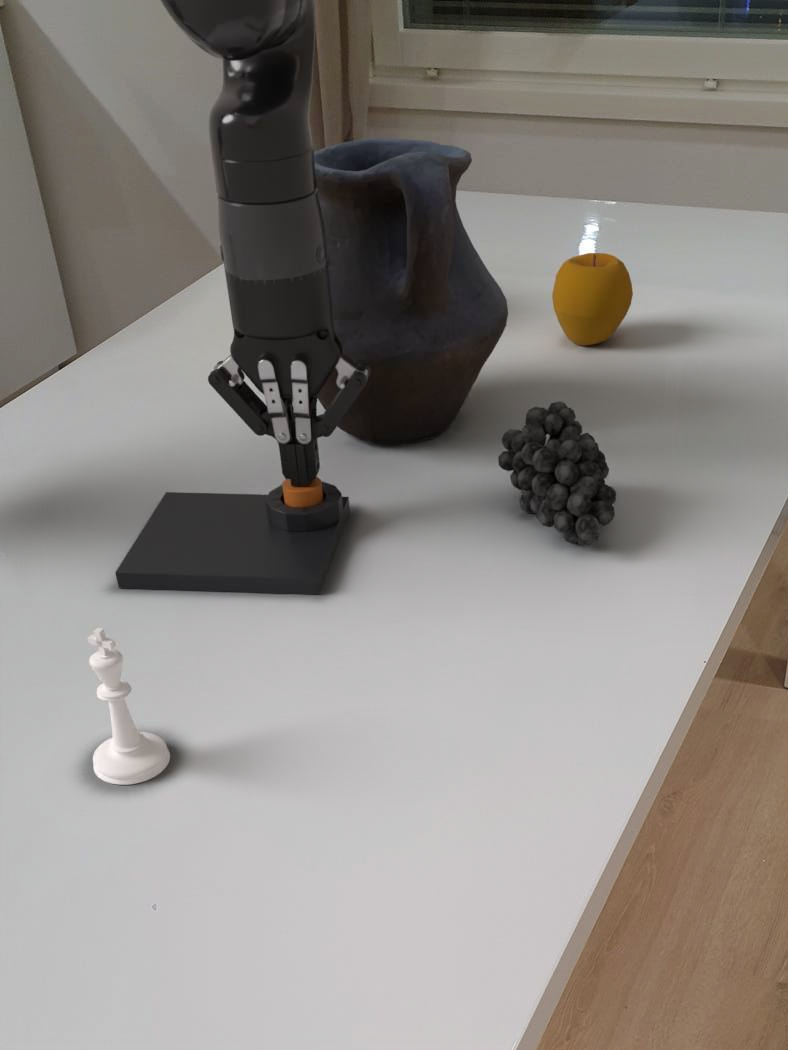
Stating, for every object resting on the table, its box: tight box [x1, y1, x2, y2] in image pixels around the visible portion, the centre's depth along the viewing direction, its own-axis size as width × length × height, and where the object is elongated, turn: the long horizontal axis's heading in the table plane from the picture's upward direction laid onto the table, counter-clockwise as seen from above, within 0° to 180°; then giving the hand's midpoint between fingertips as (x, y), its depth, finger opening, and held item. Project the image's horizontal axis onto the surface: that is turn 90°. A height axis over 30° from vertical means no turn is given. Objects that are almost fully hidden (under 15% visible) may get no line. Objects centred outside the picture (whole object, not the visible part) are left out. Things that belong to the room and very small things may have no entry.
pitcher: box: [313, 137, 509, 444], centre depth 115 cm, size 21×22×25 cm
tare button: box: [281, 475, 323, 507], centre depth 106 cm, size 3×3×2 cm
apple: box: [551, 252, 634, 346], centre depth 136 cm, size 8×8×9 cm
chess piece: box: [87, 627, 171, 786], centre depth 81 cm, size 5×5×10 cm
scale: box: [114, 480, 351, 595], centre depth 105 cm, size 16×14×3 cm
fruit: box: [497, 401, 617, 547], centre depth 105 cm, size 9×8×15 cm
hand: (302, 482), depth 105 cm, fingers closed
